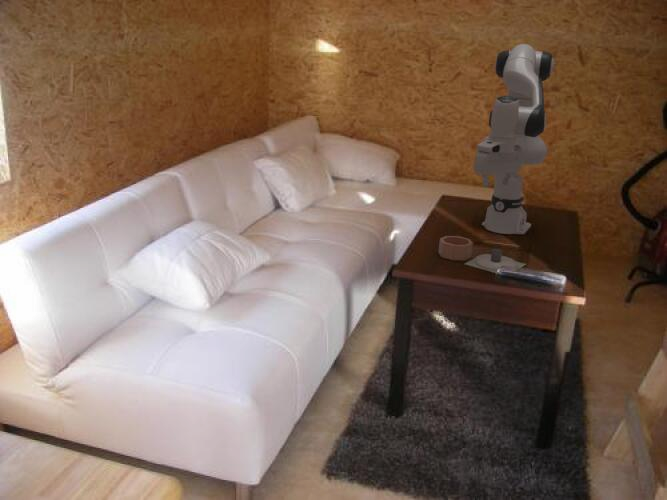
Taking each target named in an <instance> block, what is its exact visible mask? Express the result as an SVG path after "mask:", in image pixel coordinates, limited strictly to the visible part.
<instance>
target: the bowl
mask: <svg viewBox="0 0 667 500" xmlns="http://www.w3.org/2000/svg"><path fill="white" fill-rule="evenodd" d="M438 245H439V246H438V251H437V252H438V255H439V256H440V257H441V258H443V259H446V260H450V261H467V260H469V259H472V254H473V246H474V242H473V241H472V240H471V239H470V238H466V237H464V236H459V235H454V236H453V235H445V236H443V237H440V238H439V244H438Z"/></svg>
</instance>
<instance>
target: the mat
mask: <svg viewBox="0 0 667 500" xmlns="http://www.w3.org/2000/svg"><path fill="white" fill-rule="evenodd" d="M484 254H487V253H483V254H482V255H484ZM514 261H515V262H516V267H518V268H519V269H521V268H523V267H524V266H526V265H527V264H526V263H523V262H519V261H516V260H514ZM464 265H465V266H470V267H473V268H477V269H481V270H483V271H488V272H491V273H494V274H497V271H493V270H488V269H485V268H482V267H480V266H478V265H477V264H476V263H475V258H473V259H471V260H469V261H467V262H465V263H464Z"/></svg>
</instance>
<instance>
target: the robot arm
mask: <svg viewBox="0 0 667 500" xmlns="http://www.w3.org/2000/svg"><path fill="white" fill-rule="evenodd" d="M554 68H555V61H554V56H553V54H552V53H550V52H548V51H546V50H545V51H544V50H543V51H540V50H539V51H538V50H535V49H534V47H532V46H531V45H530V44H526V43H520V44H518V45H517V44H516V46H514V47H513V48H512V49H511V50H503V51H500V52H499V53H498V54H497V57H496V58H495V62H494V70H495V74H496V76H497V77H499V78H501V79H502V81H503V83H504V85H505V87H506V88H508V90H507V95H503V96H502V95H500V96H498V97H497V98H496V99H495V100H494V104H493V107H492V109H491V111H490V112H489V120H488V126H489V127H490V132H489V135H487V136H485V137H484V138H483V139H482V140H481V142H480V143H477V145H476V151H477V152H476V154H475V155H474V156H475V157H474V163H473V171H474V173H475V174H477V175H481V178H482V181H483V184H482V186H483V187H484V188H489V187H490V186H491V181H489V177H490V175H494V182H493V186H494V187H493V194H492V195H491V202H490V205H489V206H487V208H486V214H485V219H484V221H483V222H481V226H483V227H484V228H485V229H486V230H487V231H490V232H493V233H496V234H503V235H525V234H526V233H527V232H528V230H529V229H530V228H531V226H532V223H530V222H527V217H528V216H527V215H528V213H527V212H526V211H525V209H524V208H523V202H524V201H525V196H522V190H523V185H524V180H523V177H522V176H521V175H520V174H519V172H520V171H521V170H522V167H523V165H525V166H533V165H540V164H541V163H542V162H544V161H545V158H546V157H547V154H548V148H547V144H546V142H545V141H544V140H543V139H542V138H541V137H540V135H541V134H543V133H544V131H545V129H546V127H547V116H546V115H547V114H546V110H545V101H544V100H545V98H544V86H543V82H544V81H546V80H547V79H548V78H550V76H551V74H552V73H553V71H554Z"/></svg>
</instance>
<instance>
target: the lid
mask: <svg viewBox="0 0 667 500" xmlns="http://www.w3.org/2000/svg"><path fill="white" fill-rule="evenodd" d="M483 254H484V255H483ZM483 254H479V255H478V256H476V257H474V259H475V263H476V264H477V265H478V266H480V267H482V268H485V269H488V270H493V271H497V270H498V269H499V268H500V267H501V266H511V267H516V262H517V261H516V260H515V259H513V258H511V257H508V256H506V255H503V250H502V249H500V248H492V249H491V253H486V254H485V253H483ZM515 261H516V262H515Z"/></svg>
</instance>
